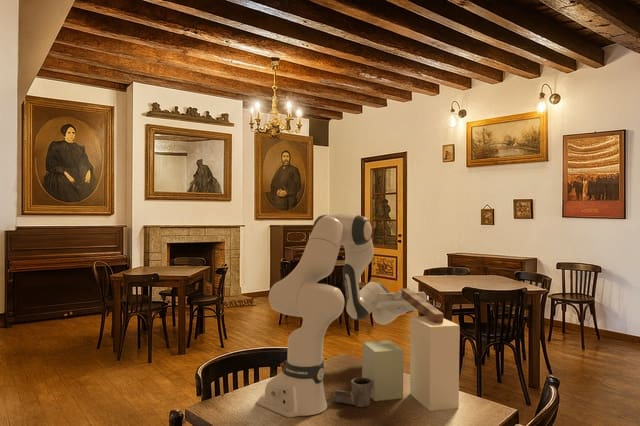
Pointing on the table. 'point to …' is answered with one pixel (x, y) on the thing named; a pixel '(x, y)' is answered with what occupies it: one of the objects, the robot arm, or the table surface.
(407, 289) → the walnut bar
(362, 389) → the pipe
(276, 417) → the table surface
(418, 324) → the tall stand
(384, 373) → the low stool
